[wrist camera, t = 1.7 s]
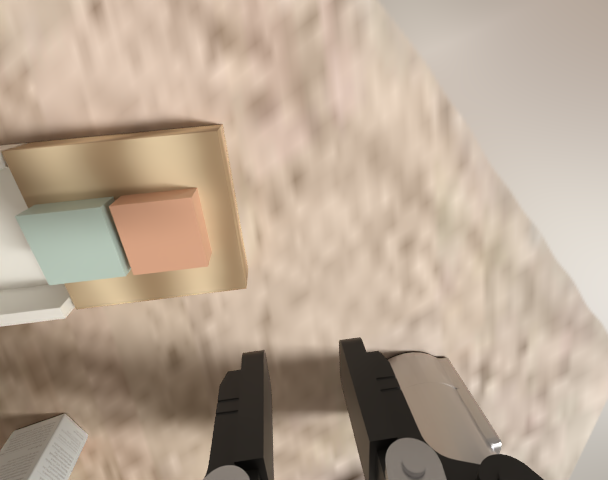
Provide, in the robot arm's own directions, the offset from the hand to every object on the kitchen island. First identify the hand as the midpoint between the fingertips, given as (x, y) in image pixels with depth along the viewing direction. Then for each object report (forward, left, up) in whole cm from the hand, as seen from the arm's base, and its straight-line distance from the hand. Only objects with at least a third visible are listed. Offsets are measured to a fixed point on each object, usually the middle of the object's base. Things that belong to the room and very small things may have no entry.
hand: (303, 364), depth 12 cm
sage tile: (+14, 0, -14) cm, 20 cm away
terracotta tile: (+8, 0, -14) cm, 16 cm away
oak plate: (+10, 0, -17) cm, 20 cm away
